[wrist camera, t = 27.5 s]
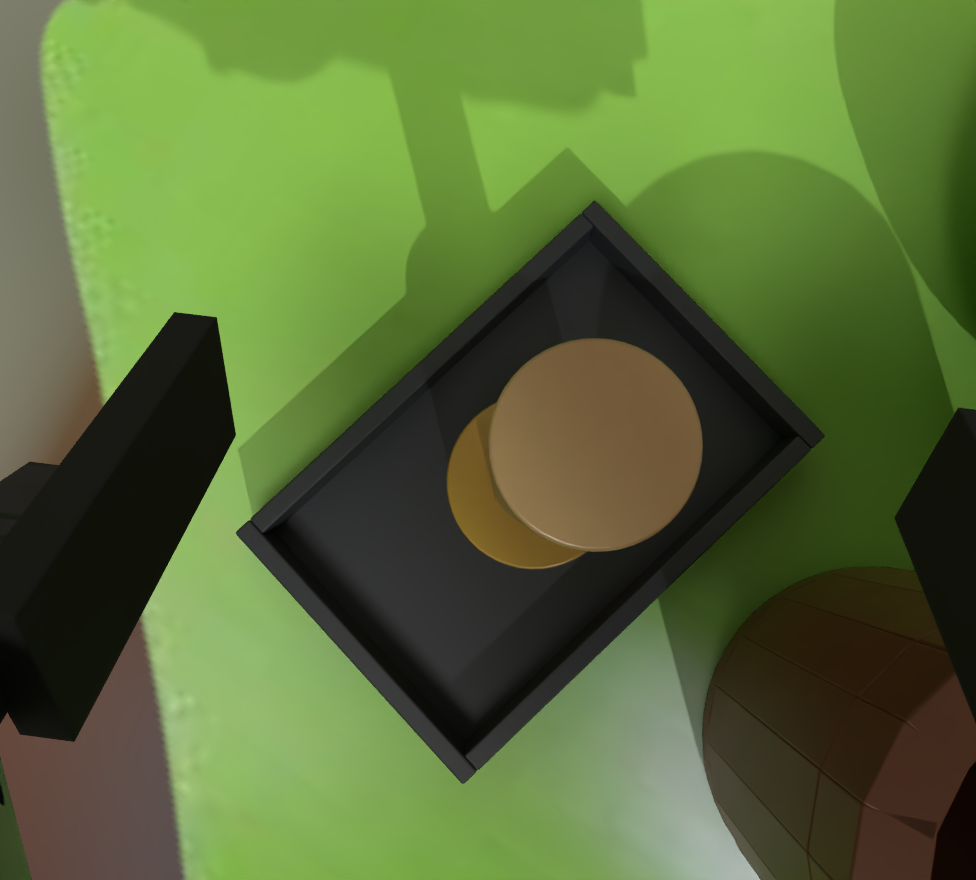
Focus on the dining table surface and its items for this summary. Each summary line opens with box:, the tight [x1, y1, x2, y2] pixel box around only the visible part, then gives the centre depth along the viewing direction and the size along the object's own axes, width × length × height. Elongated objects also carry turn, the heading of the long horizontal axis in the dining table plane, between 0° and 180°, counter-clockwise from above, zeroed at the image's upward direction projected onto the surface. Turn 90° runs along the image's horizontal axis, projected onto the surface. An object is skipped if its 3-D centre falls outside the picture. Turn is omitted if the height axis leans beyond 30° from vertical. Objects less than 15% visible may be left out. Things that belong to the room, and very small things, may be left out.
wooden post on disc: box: [446, 338, 703, 569], centre depth 17 cm, size 5×5×18 cm
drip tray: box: [236, 201, 825, 784], centre depth 26 cm, size 15×10×2 cm
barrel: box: [702, 567, 976, 880], centre depth 21 cm, size 11×11×11 cm
